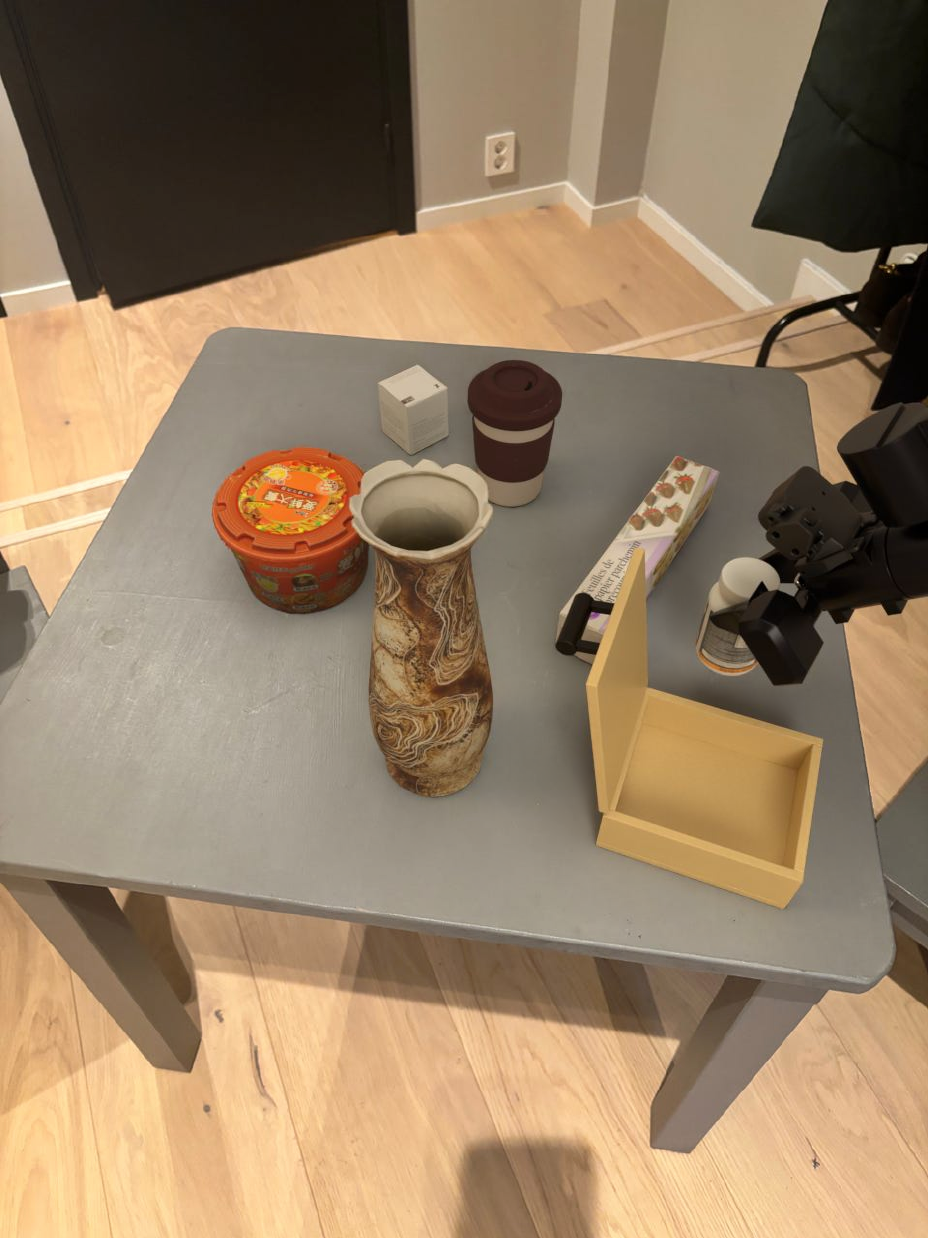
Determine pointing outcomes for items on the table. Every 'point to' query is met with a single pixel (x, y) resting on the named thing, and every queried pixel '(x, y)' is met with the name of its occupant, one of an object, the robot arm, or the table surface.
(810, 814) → the shallow kraft tray
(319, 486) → the food container
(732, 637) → the pill bottle
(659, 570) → the box
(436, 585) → the vase
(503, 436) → the coffee cup
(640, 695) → the upright wooden panel
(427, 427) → the product carton
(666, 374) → the table surface
